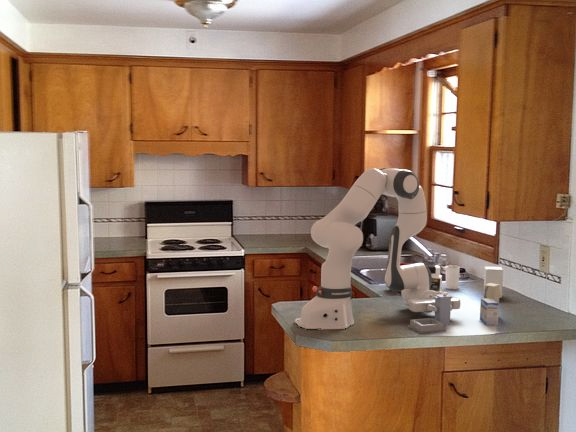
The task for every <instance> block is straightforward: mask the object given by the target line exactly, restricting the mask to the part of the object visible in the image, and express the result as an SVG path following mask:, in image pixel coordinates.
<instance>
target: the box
mask: <svg viewBox="0 0 576 432" xmlns="http://www.w3.org/2000/svg"><path fill="white" fill-rule="evenodd" d="M499 289H500V285H499V284H494V283H488V284H486V285H484V284H483V298H490V299H493V300H494V301H496V302H497V303H499V304H500V298H499ZM499 316H500V313H499V310H498V317H499Z"/></svg>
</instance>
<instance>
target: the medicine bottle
mask: <svg viewBox="0 0 576 432" xmlns="http://www.w3.org/2000/svg"><path fill="white" fill-rule="evenodd" d="M426 266H427V267H428V268H429V270H430V271H431V275H432V284H431V287H430V289H429V290H433V291H440V292H442V290H443V288H442V287H443V284H442V282H443V275H441V266H440V265H438V264H429V265H426Z"/></svg>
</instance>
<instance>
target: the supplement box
mask: <svg viewBox="0 0 576 432" xmlns="http://www.w3.org/2000/svg"><path fill="white" fill-rule="evenodd" d="M483 270H484V271H483V272H484V273H483V274H484V275H483V286H484V285H486V284H488V283H494V284H499V285H500V289H499V299H500V298H503V281H504V280H503V278H504V277H503V275H504V274H503V273H504V269H503V267H501V266H484V269H483Z"/></svg>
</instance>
